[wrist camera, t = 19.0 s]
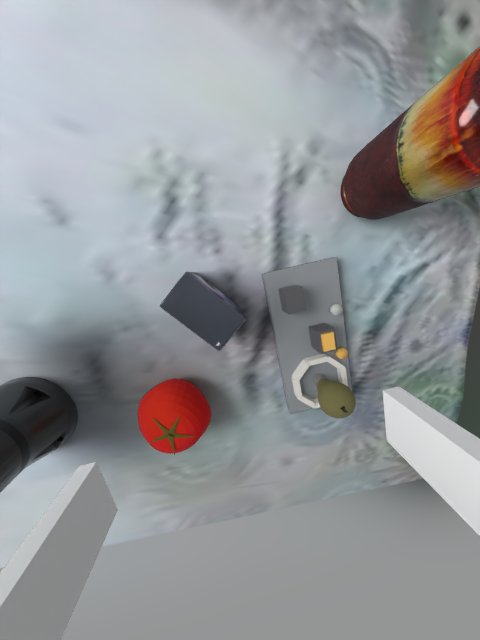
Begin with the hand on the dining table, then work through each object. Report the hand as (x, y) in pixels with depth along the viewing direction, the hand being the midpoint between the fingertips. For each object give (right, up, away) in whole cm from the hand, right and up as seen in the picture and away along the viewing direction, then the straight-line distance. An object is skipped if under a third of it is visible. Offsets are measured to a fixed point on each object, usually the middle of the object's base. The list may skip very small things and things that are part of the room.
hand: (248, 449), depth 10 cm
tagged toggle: (+14, +3, +31) cm, 34 cm away
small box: (-6, +9, +30) cm, 32 cm away
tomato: (-12, -10, +34) cm, 37 cm away
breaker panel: (+13, +2, +33) cm, 36 cm away
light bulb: (+15, -6, +33) cm, 37 cm away
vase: (+21, +28, +28) cm, 45 cm away
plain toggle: (+8, +10, +29) cm, 31 cm away
